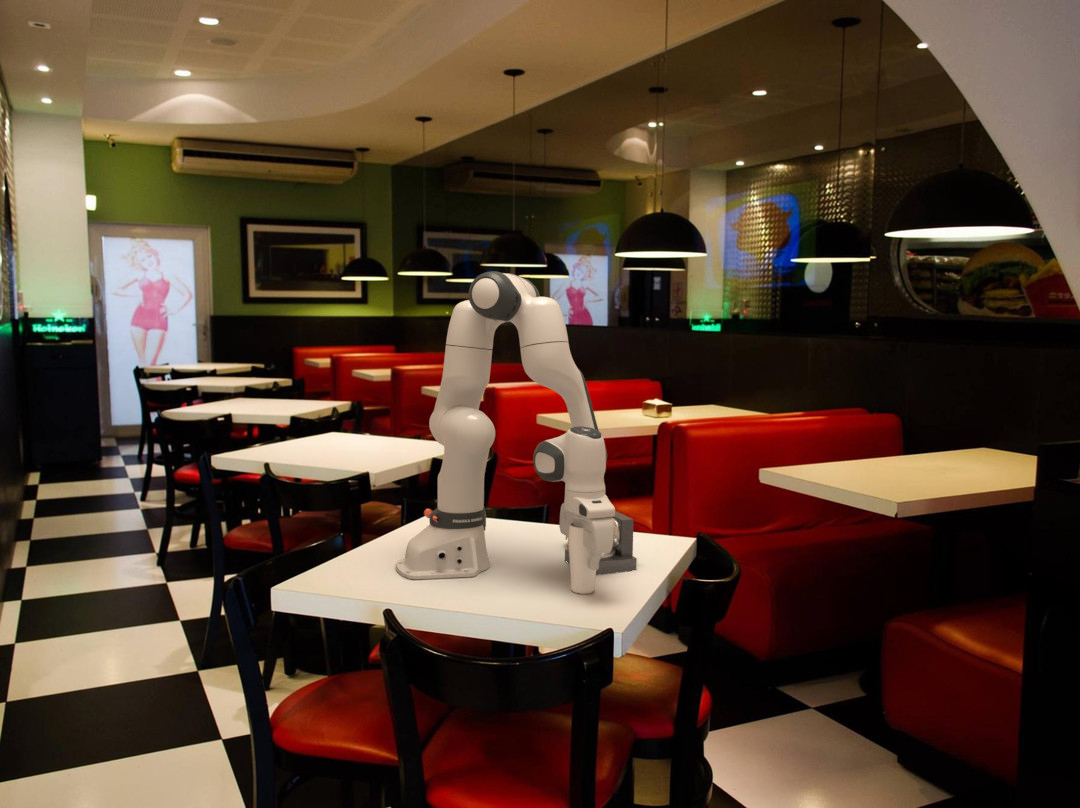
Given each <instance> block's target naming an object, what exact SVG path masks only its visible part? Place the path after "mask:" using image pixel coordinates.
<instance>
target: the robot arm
mask: <svg viewBox="0 0 1080 808" xmlns="http://www.w3.org/2000/svg"><path fill="white" fill-rule="evenodd" d="M500 325H502V326H503V327H506V326H510V325H514V326H515V328H516V330H517V334H518V339H519V347H520V357H521V363H522V367H523V370H524V372H525V374H526V375H527V376H528V378H530V379H531V380H532V381H533V382H535V383H536V384H538V385H540V386H542V387H544V388H545V387H546V388H548V389H550V390H551V391H553V392H556V393H557V394H558V395H559V396H561V398H562V399H563V400H564V403H565V405H566V408H567V409H566V410H567V412H568V416H569V420H570V424H571V428H569V429H568V430H567V431H566V432H565V433H564V434H561V435H560V436H557V437H553V438H551V439H550V438H549V439H546V440H543V441H541V442H539V443H538V444H537V445H536V448H535V449H534V452H533V457H532V458H533V467H534V470H535V472H536V474H537V475H538V476H539V478H541V479H542V480H543V481H544V482H545V481H546V482H553V483H555V482H561V481H562V482H564V483H565V486H564V498H563V499H564V500H563V501H564V502H562V504H561V506H560V512H559V525H558V526H559V530H560V531H559V532H560V533H561V534H562V535H564V536H565V537H566V536H567V538H568V533H569V524H570V523H571V522H573V527H578V528H584V529H583V546H584V547H586V548H587V549H589V550H590V554H591V559H590V561H588V564H589V566H588V567H589V568H590V569H591V570H598V568H599V561H600V558H601V556H602V554H605V553H610V551H611V550H612V547H613V531H614V525H613V520H612V518H611V517H613V516H615V511H616V508H615V506H614V504H612V502H611V501H610V499H609V497H608V496H607V495H606V483H605V478H604V477H605V473H606V470H607V466H606V465H607V461H608V460H607V459H608V452H607V448H606V443H605V440H604V436H603V434H602V432H601V431H600V430H599V427H598V423H597V419H596V416H595V415H596V414H595V412H594V407H593V404H592V400H591V396H590V392H589V389H588V384H587V381H586V379H585V377H584V374H583V372H582V371H581V370H580V369H579V368H578V366H577V365H576V363H575V361H574V359H573V356H572V352H571V350H570V344H569V336H568V335H569V334H568V331H567V326H566V322H565V319H564V314H563V312H562V309H561V306H560V304H559V303H558V301H556V300H555V299H554V298H551V297H548V296H540V291H539V290H538V288H537V287H536V286H535V284H533V282H531V281H530V280H529V279H526V278H523V277H521V276H518V275H516V274H514V273H505V272H499V271H495V270H493V271H492V270H491V271H486V272H484V273H481V274H479V275H477V276H476V277H475V278H474V279H473V280H472V281H471V283H470V285H469V289H468V299H466V300H463V301H460V302H459V303H457V304H456V305H455V306H454V308H453V309H452V314H451V317H450V320H449V324H448V328H447V335H446V341H445V350H444V360H443V370H442V376H441V382H440V385H439V390H438V394H437V397H436V400H435V405H434V408H433V411H432V413H431V415H430V417H429V421H428V422H429V423H428V424H429V430H430V432H431V435H432V436H433V438H434V439H435V441H436V442H437V443H438V444H440V445H441V446H443V457H442V458H443V459H442V463H441V467H440V471H439V473H438V475H437V508H435V509H433V510H432V509H431V508H426V509H425V510H424V511H423V515H424V517H426V518H427V519H429V524H428V525H427V526H426V527H425V528H423V529H422V530H421V531H420V532H418V534H416V535H415V536H414V537H412V538H411V539H410V540H409V541H408V543H407V545H406V550H405V554H404V559H403V558H402V559H399V560H397V561H396V563H395V570H396V572H397V573H398V574H399V576H401V577H403V578H406V579H409V580H429V579H431V580H432V579H447V578H448V579H451V578H473V577H476V576H478V575H479V573H481V572H483V571H485V570H488V569H490V567H491V561H490V559H489V554H488V549H487V545H486V535H485V531H486V526H487V514H486V508H485V505H484V504H485V473H486V468H487V464H488V458H489V453H490V448H491V447H492V445H493V444H494V442H495V438H496V429H495V426H494V423H493V422H492V420H491V419H490V418H489V416H488V415H486V414H485V412H483V411H481V410H479V409H480V406H481V405H480V404H481V402H482V399H483V395H484V392H485V391H486V388H487V387H488V385H489V383H490V376H491V368H492V367H491V366H492V357H493V356H492V355H493V347H494V337H495V334H496V333H495V332H496V330H497V329H498V327H499V326H500Z"/></svg>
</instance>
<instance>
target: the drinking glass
mask: <svg viewBox="0 0 1080 808" xmlns="http://www.w3.org/2000/svg"><path fill="white" fill-rule="evenodd" d="M583 529H584V528H578V527H573V522H571V523H570V524H569V533H568V537H567V545H568V544H569V546H568V549H569V559H570V564H569V571H570V572H569V573H570V590H571V591H572V592H573V593H576V594H578V593H579V595H588V594H592V593H594V591H595V590H596V579H597V578H596V576H597V575H596V570H591V569H590V568H589V567H588V566H589V564H588V561H590V559H591V554H590V550H589V549H587V548H586V547H584V546H583Z"/></svg>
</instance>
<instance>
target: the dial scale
mask: <svg viewBox="0 0 1080 808" xmlns="http://www.w3.org/2000/svg"><path fill="white" fill-rule="evenodd" d="M611 518H612V520H613V525H614V531H613V547H612V550H611V551H610V553H605V554H602V556H601V558H600V561H599V568H598V570H596V576H600V575H599V574H601V575H607V574H608V573H609V574H617V573H616V572H618V573H625V571H627V572H633V571H632V570H636V571H637V557H635V556H634V554H633V553H634V552H633V551H634V548H633V547H634V519H633V518H632V517H629V516H627V515H625V514H623V513H621V512H619V511H616V510H615V516H613V517H611ZM566 561H567V562H568V563H567V562H566ZM564 562H566V563H567V564H569V563H570V559H569V548H565V549H564Z"/></svg>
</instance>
